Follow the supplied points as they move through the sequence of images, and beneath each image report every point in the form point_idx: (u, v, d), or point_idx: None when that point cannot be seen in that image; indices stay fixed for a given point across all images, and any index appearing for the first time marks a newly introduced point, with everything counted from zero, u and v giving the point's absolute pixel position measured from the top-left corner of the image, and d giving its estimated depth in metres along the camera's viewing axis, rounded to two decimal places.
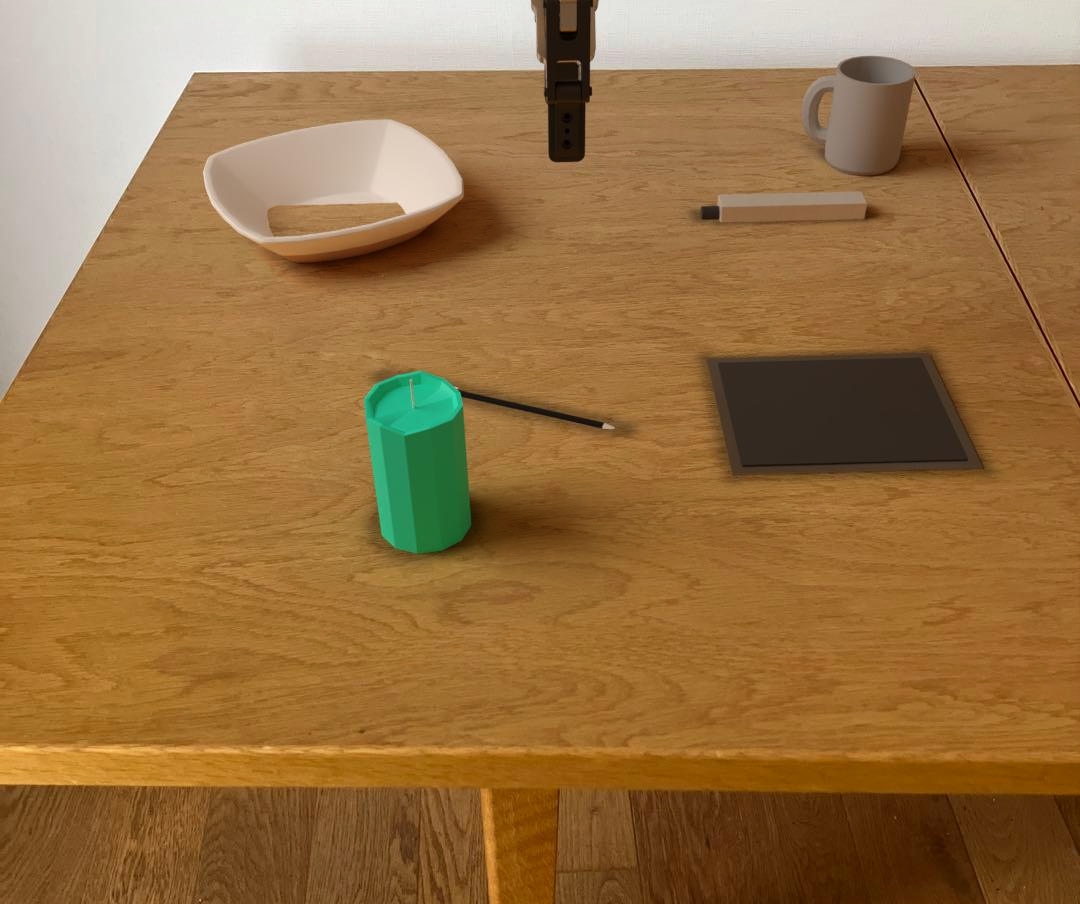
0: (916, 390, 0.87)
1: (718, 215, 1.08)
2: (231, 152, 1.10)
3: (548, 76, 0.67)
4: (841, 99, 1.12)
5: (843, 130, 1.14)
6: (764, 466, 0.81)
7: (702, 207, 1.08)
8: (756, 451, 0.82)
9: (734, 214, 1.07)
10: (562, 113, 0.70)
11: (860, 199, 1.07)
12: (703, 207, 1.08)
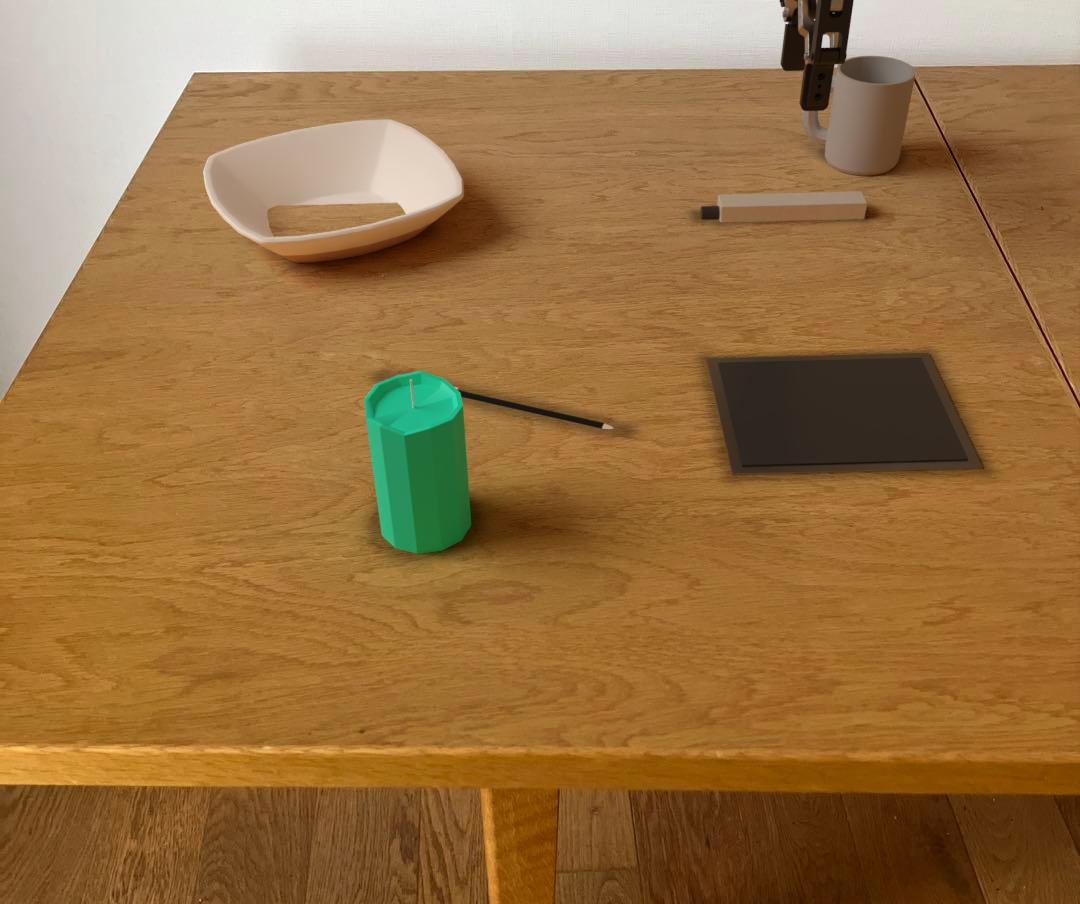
0: (916, 390, 0.87)
1: (718, 215, 1.08)
2: (231, 152, 1.10)
3: (817, 44, 0.90)
4: (841, 99, 1.12)
5: (843, 130, 1.14)
6: (764, 466, 0.81)
7: (702, 207, 1.08)
8: (756, 451, 0.82)
9: (734, 214, 1.07)
10: (817, 73, 0.94)
11: (860, 199, 1.07)
12: (703, 207, 1.08)
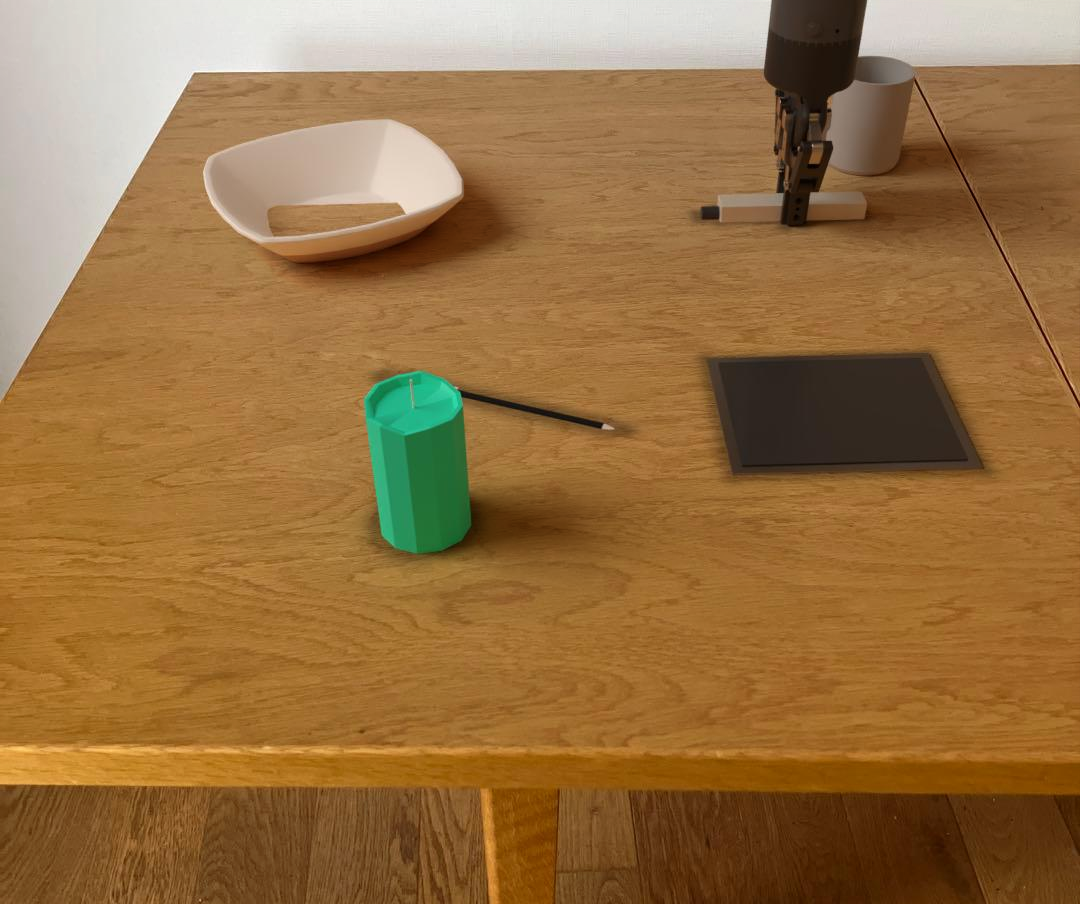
0: (916, 390, 0.87)
1: (718, 215, 1.08)
2: (231, 152, 1.10)
3: (794, 183, 1.01)
4: (841, 99, 1.12)
5: (843, 130, 1.14)
6: (764, 466, 0.81)
7: (702, 207, 1.08)
8: (756, 451, 0.82)
9: (734, 214, 1.07)
10: (795, 197, 1.05)
11: (860, 199, 1.07)
12: (703, 207, 1.08)
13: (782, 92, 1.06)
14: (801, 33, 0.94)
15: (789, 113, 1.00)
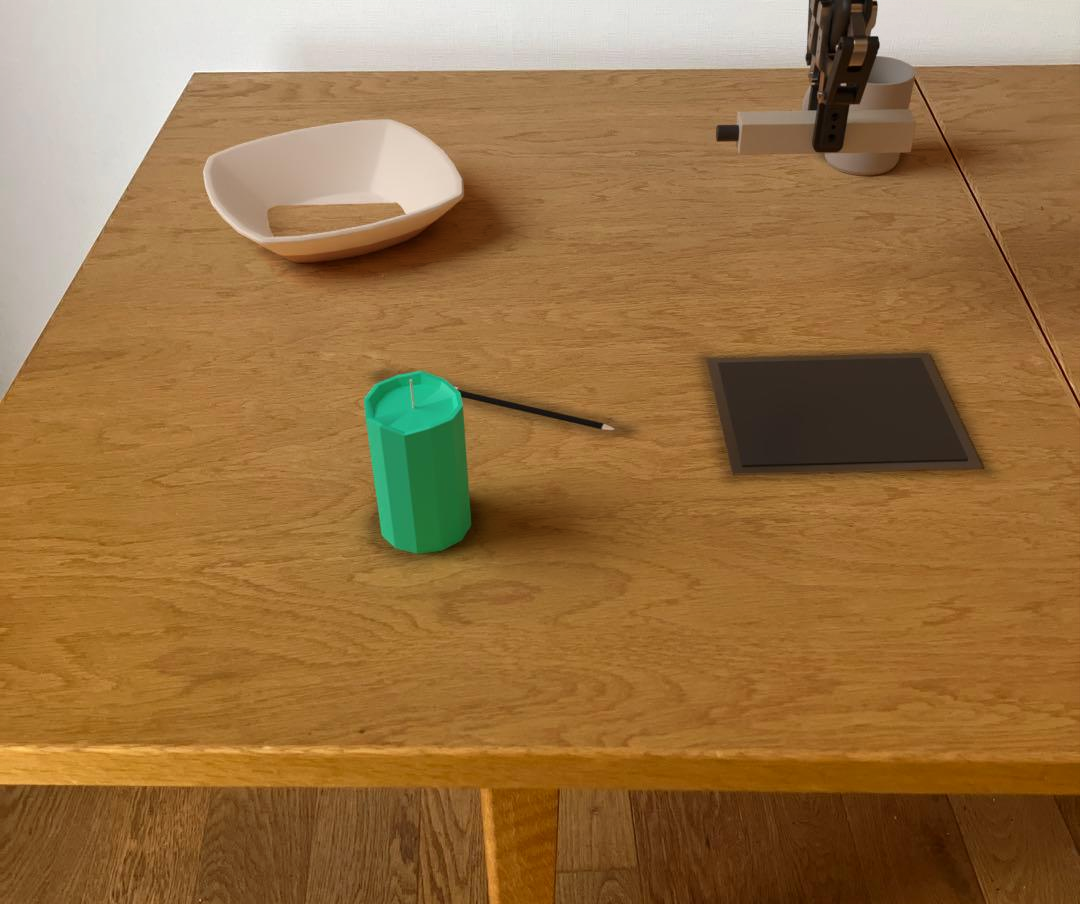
0: (916, 390, 0.87)
1: (737, 135, 0.90)
2: (231, 152, 1.10)
3: (830, 92, 0.84)
4: None
5: None
6: (764, 466, 0.81)
7: (718, 126, 0.90)
8: (756, 451, 0.82)
9: (756, 133, 0.89)
10: (831, 113, 0.87)
11: (908, 117, 0.89)
12: (719, 126, 0.90)
13: None
14: None
15: (825, 6, 0.83)
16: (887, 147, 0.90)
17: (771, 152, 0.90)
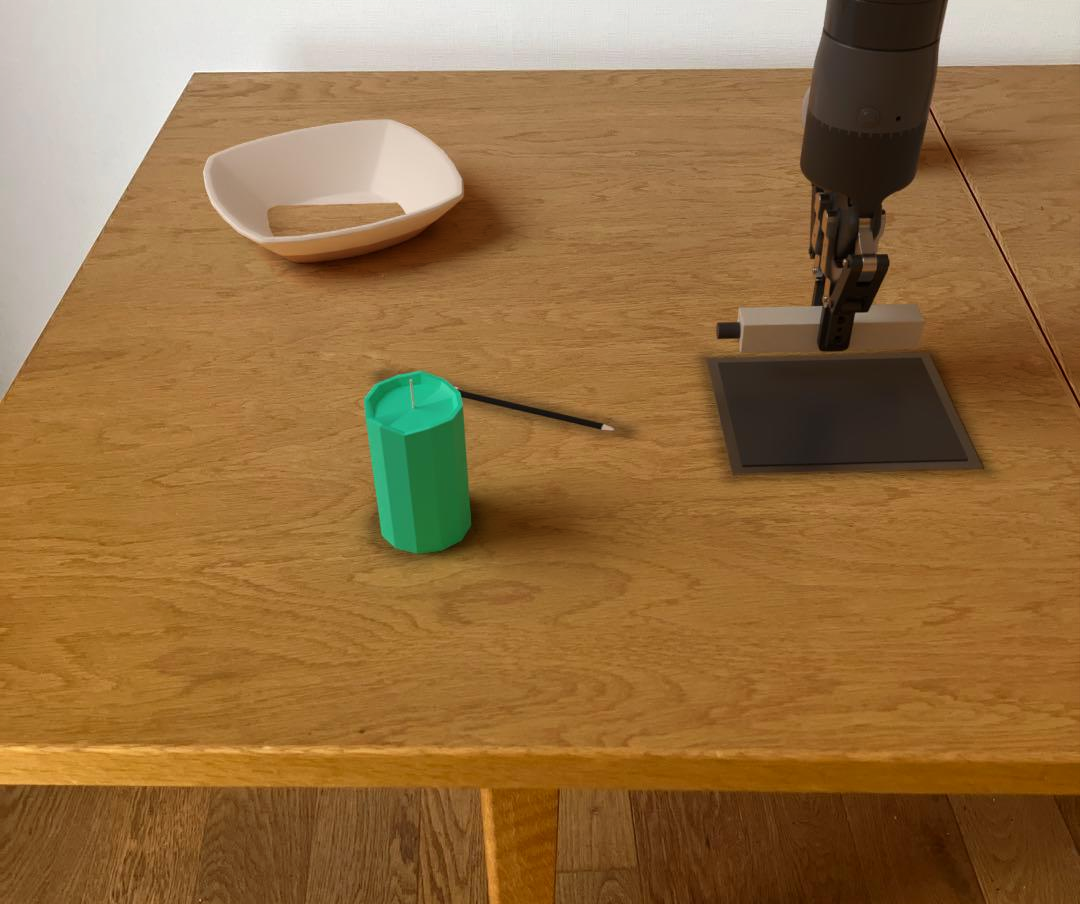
0: (916, 390, 0.87)
1: (739, 334, 0.86)
2: (231, 152, 1.10)
3: (837, 303, 0.80)
4: None
5: None
6: (764, 466, 0.81)
7: (719, 324, 0.86)
8: (756, 451, 0.82)
9: (759, 333, 0.86)
10: (837, 316, 0.84)
11: (916, 315, 0.86)
12: (720, 324, 0.86)
13: None
14: (851, 120, 0.73)
15: (831, 216, 0.79)
16: (894, 344, 0.87)
17: (774, 350, 0.87)
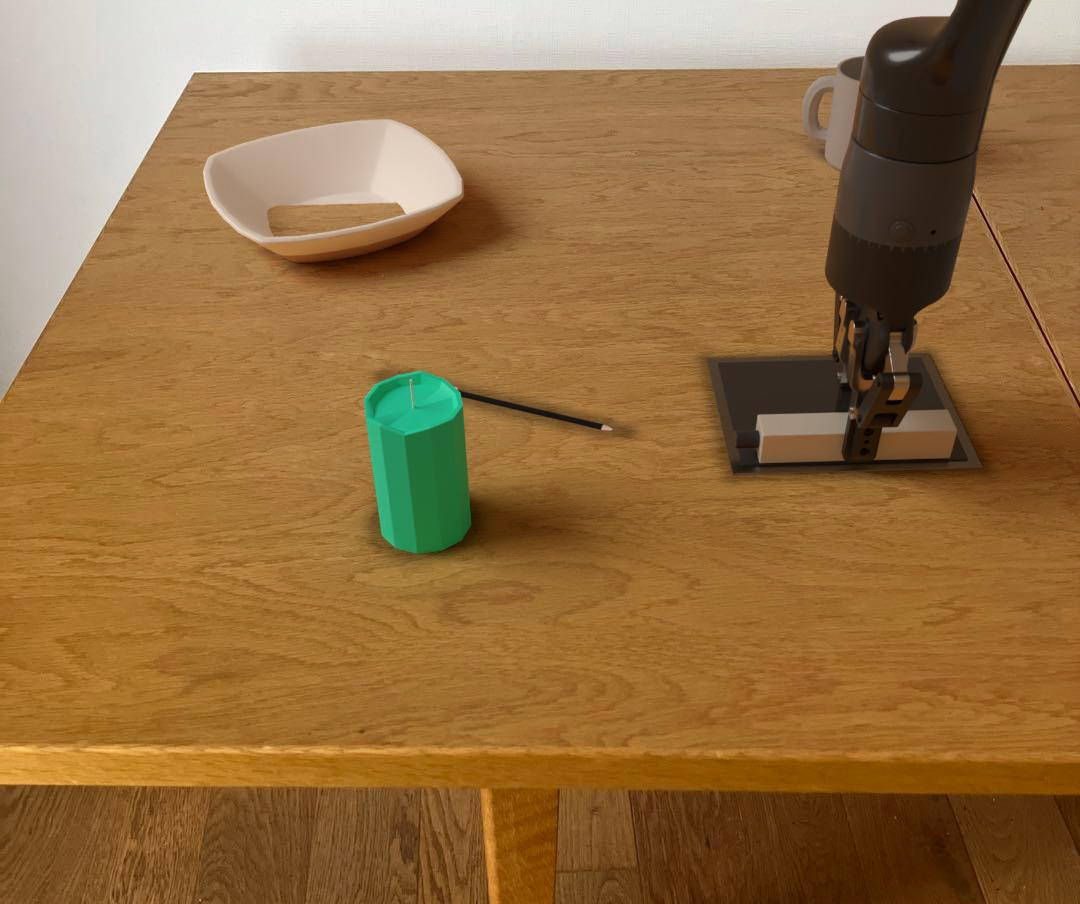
0: None
1: (758, 443, 0.81)
2: (231, 152, 1.10)
3: (866, 419, 0.75)
4: (841, 99, 1.12)
5: (843, 130, 1.14)
6: (764, 466, 0.81)
7: (737, 433, 0.81)
8: (756, 451, 0.82)
9: (779, 444, 0.80)
10: (864, 428, 0.78)
11: (947, 424, 0.80)
12: (738, 433, 0.81)
13: None
14: (882, 234, 0.68)
15: (859, 327, 0.74)
16: (924, 454, 0.81)
17: (795, 460, 0.81)
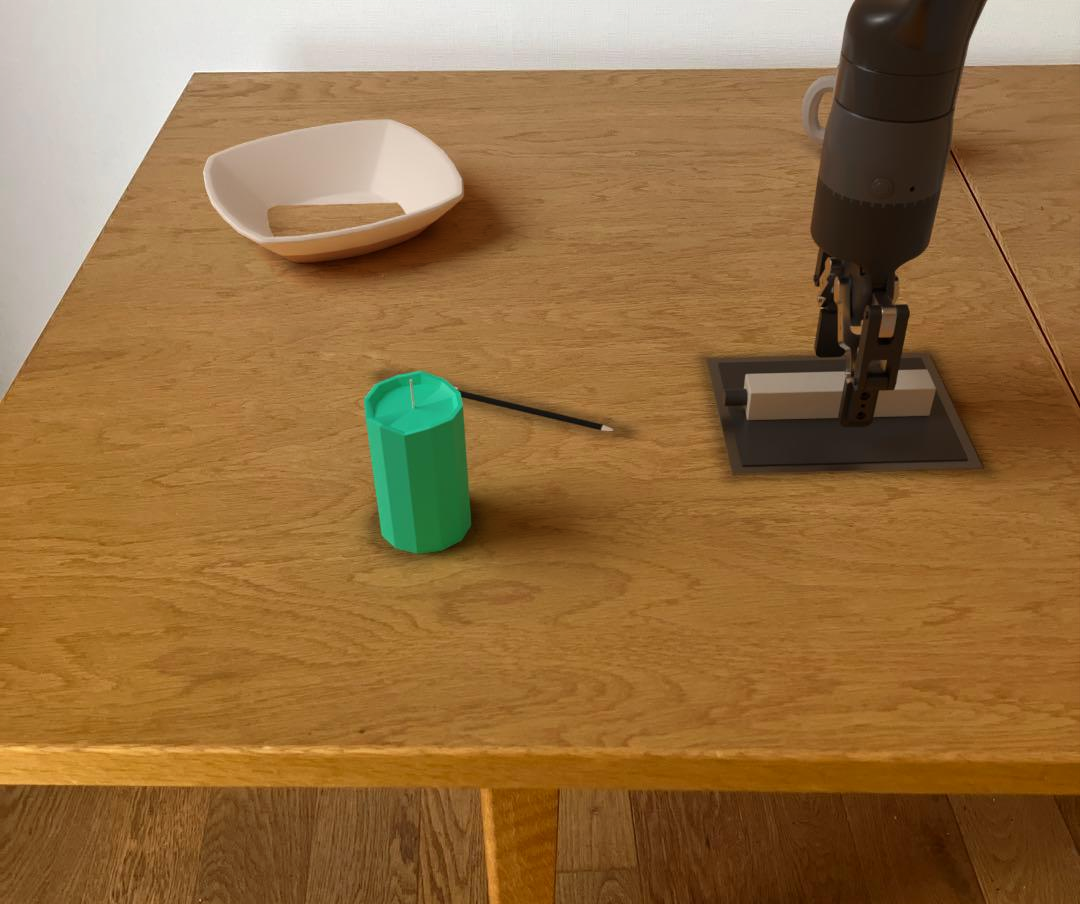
0: None
1: (746, 401, 0.85)
2: (231, 152, 1.10)
3: (861, 372, 0.75)
4: None
5: None
6: (764, 466, 0.81)
7: (725, 391, 0.85)
8: (756, 451, 0.82)
9: (766, 401, 0.84)
10: (860, 392, 0.79)
11: (927, 382, 0.84)
12: (727, 391, 0.85)
13: None
14: (864, 191, 0.71)
15: (842, 279, 0.77)
16: (905, 411, 0.85)
17: (782, 417, 0.85)
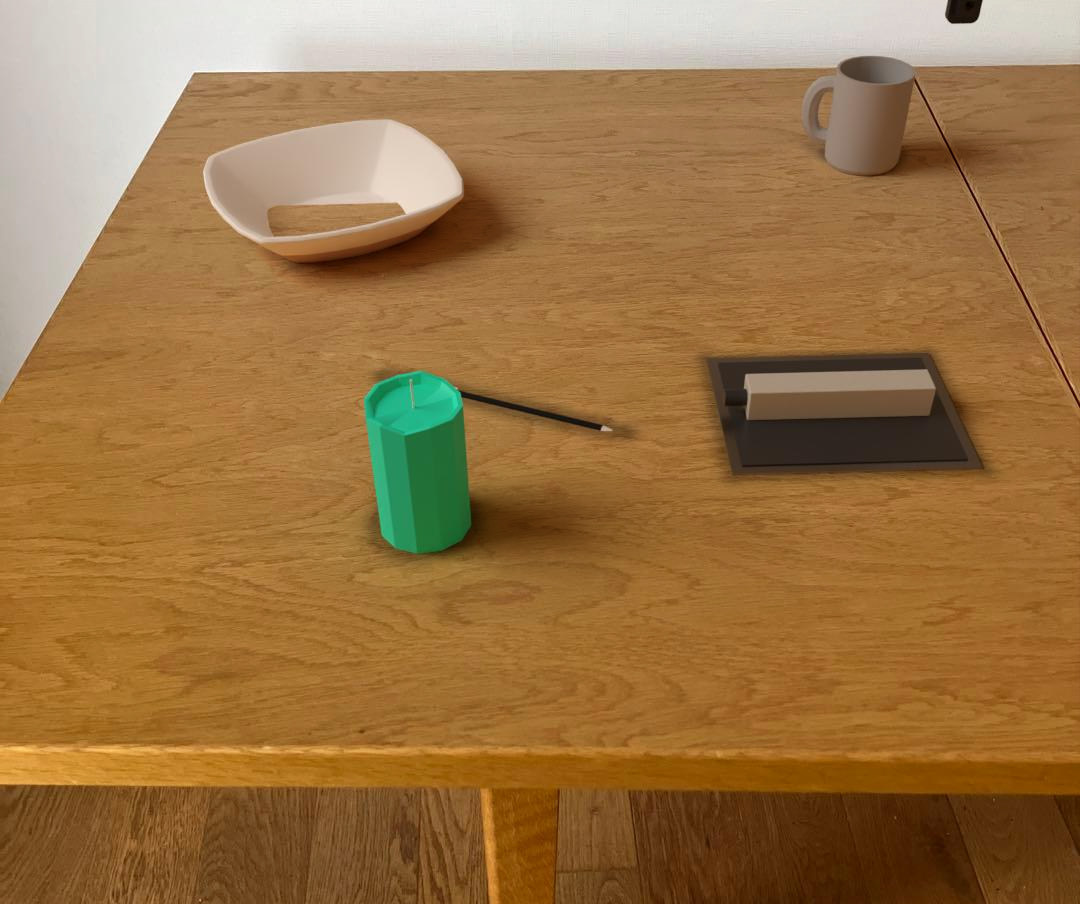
0: None
1: (746, 401, 0.85)
2: (231, 152, 1.10)
3: None
4: (841, 99, 1.12)
5: (843, 130, 1.14)
6: (764, 466, 0.81)
7: (725, 391, 0.85)
8: (756, 451, 0.82)
9: (766, 401, 0.84)
10: None
11: (927, 382, 0.84)
12: (727, 391, 0.85)
13: None
14: None
15: None
16: (905, 411, 0.85)
17: (782, 417, 0.85)
